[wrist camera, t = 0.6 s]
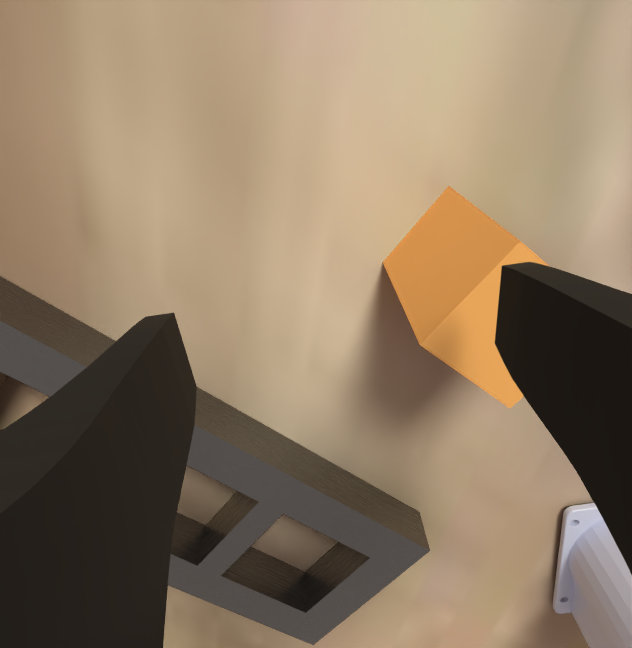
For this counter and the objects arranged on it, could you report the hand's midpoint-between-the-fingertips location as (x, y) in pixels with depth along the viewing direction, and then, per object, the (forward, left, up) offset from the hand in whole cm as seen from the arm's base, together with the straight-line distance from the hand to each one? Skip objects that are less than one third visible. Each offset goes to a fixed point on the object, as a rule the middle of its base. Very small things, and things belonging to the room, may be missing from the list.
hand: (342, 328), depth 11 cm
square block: (-3, -5, -10) cm, 12 cm away
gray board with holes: (-13, +9, -10) cm, 18 cm away
